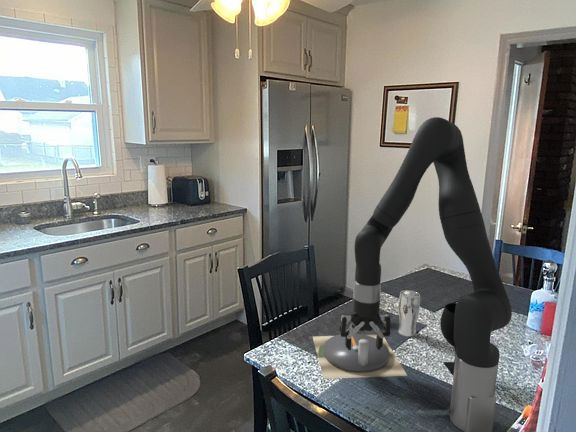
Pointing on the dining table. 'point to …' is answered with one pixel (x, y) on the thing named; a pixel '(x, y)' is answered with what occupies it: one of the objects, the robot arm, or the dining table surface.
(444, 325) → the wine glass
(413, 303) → the beer glass
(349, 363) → the dial
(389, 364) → the base plate
